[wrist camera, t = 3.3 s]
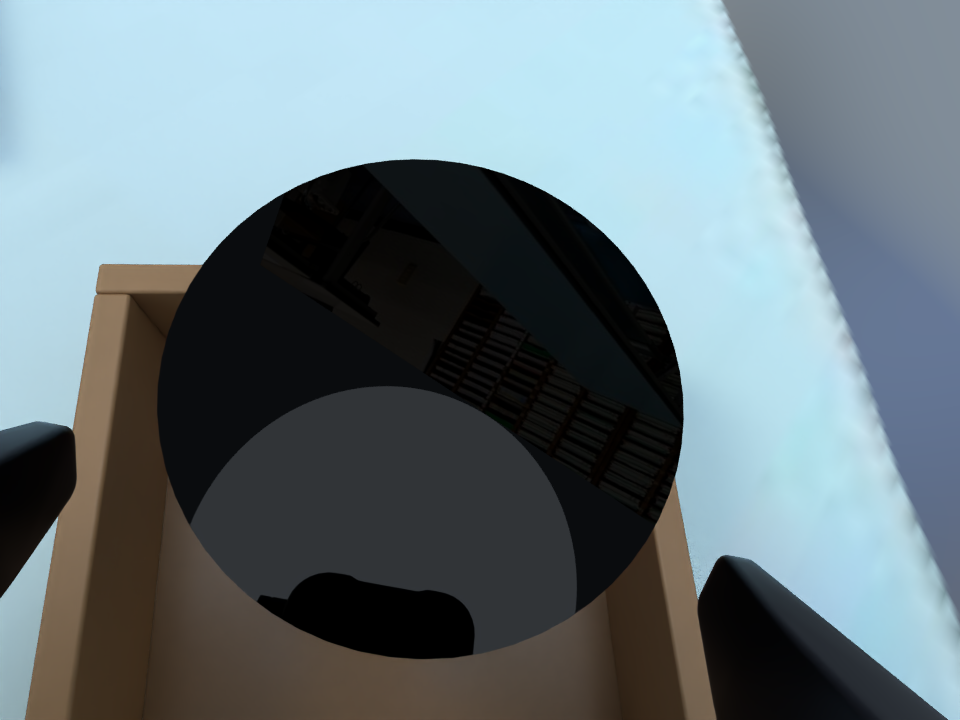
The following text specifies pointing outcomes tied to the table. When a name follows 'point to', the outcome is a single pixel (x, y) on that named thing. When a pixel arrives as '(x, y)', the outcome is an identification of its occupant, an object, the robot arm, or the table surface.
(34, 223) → the table surface
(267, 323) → the supplement container
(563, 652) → the storage box
